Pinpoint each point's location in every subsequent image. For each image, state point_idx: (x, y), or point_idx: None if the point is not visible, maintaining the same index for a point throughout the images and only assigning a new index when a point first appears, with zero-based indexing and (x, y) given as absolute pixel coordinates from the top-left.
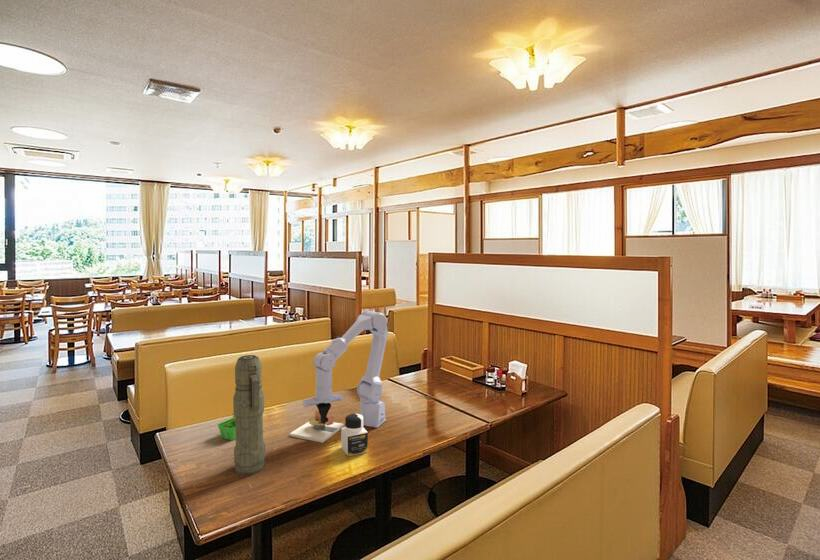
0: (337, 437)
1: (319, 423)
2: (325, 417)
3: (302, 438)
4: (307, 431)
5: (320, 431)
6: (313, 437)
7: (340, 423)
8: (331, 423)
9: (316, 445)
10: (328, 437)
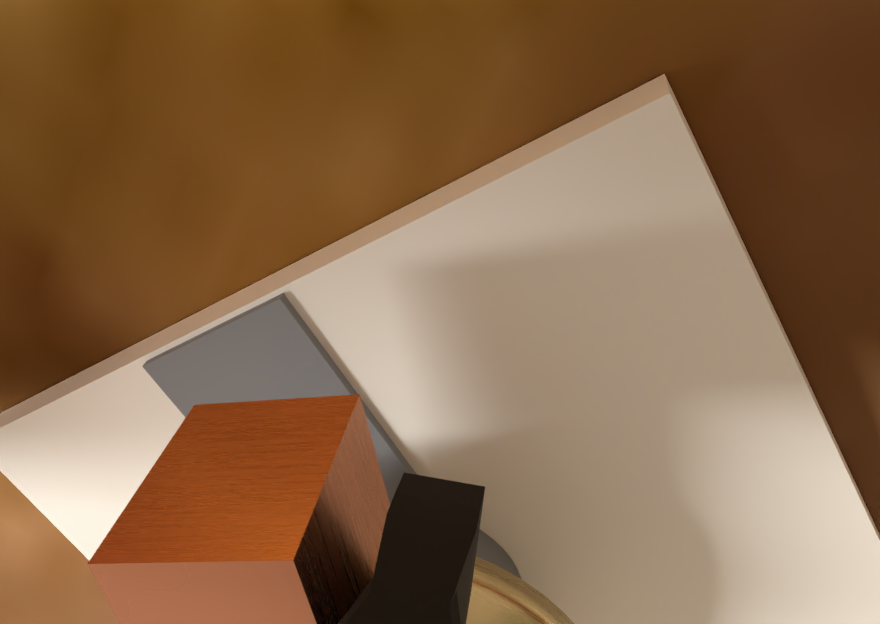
0: (262, 103)
1: (477, 599)
2: (380, 604)
3: (853, 479)
4: (672, 592)
5: (477, 460)
6: (750, 331)
7: (30, 495)
8: (242, 416)
9: (861, 32)
10: (441, 191)
